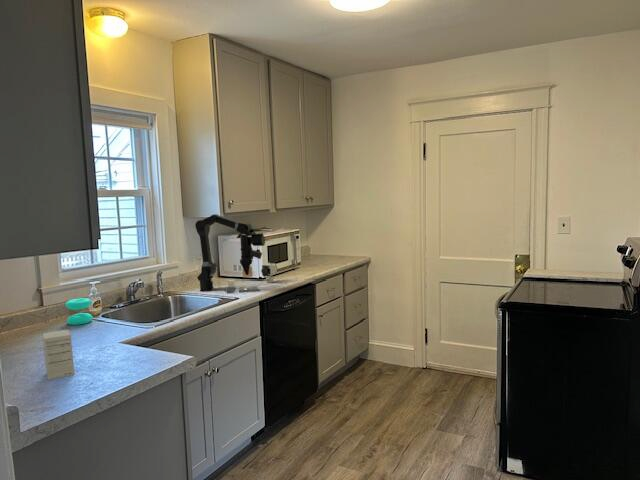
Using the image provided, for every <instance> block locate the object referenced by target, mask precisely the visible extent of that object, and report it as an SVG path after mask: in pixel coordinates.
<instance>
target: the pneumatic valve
mask: <svg viewBox="0 0 640 480" xmlns="http://www.w3.org/2000/svg"><path fill="white" fill-rule="evenodd" d="M260 272H261V274H262V277H265V281H266V283H267V284H268V283H270V284H272V283H274V282H275V281H274V275H276V274H278V266H277V263H274V262H271V263H270V262H268V263H266V264H262V265H261V270H260Z"/></svg>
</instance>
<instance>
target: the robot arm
mask: <svg viewBox="0 0 640 480" xmlns="http://www.w3.org/2000/svg"><path fill="white" fill-rule="evenodd" d="M215 223H217V224H220V225H223V226H226V227H228V228H231V229H234V230H235V231H236V232H238V233H239V234H238V235H237V236H236V239H239V240H240V259H239V263H240V266H241V267H242V268H243V269H244V271H245V273H246V275H248V273H249V267H251V265H252V263H253V261H254V260H253V259H254V258H256V259H259V260H261V258H262V255H263V252H261V250H260V249H256V250H254V249H253V247H254V246H255V247H261V246H262V247H263V246H265V245H266V237H265V235H264V233H262V232H261V233H256V231H254V229H253V228H252V225H251V223H249V222H244V221H236V220H233V219H231V218H227V217H224V216H221V215H219V214H216V213H215V214H211V215H209V216H208V217H206V218H204V219H200V220H197V221H196V222H195V224H194V226H195V230H196V233H197V234H198V236H199V240H200V250H201V257H202V265H201V268H200V269H201V271H200V273H199V275H198V276H196V277H197V281H199V287H200V288H199V292H209V291H210V292H211V291H212V290H213V289H214V282H213V278H214V275H215V274H216V271H218V269H217V265H216V262H213V260H212V253H211V246H210V238H209V236H210V235H209V234H210V231H211V226H212V225H214V224H215ZM252 246H253V247H252Z"/></svg>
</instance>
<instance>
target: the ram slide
mask: <svg viewBox="0 0 640 480" xmlns="http://www.w3.org/2000/svg"><path fill="white" fill-rule="evenodd" d="M234 286H235V279H228V280H227V287H234Z"/></svg>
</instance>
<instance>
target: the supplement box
mask: <svg viewBox="0 0 640 480" xmlns="http://www.w3.org/2000/svg"><path fill="white" fill-rule="evenodd" d="M70 331H71V330H70V329H62V330H56V331H50V332H45V333H43V334H42V344H43V356H44V362H45V369H46V370H45V371H46V377H47V381H50V380H55V379H56V380H57V379H60V378H61V379H62V378H66V377H71V376H74V375H75V365H74V356H73V355H74V354H73V343H72V342H73V341H72V335H71V332H70Z"/></svg>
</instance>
